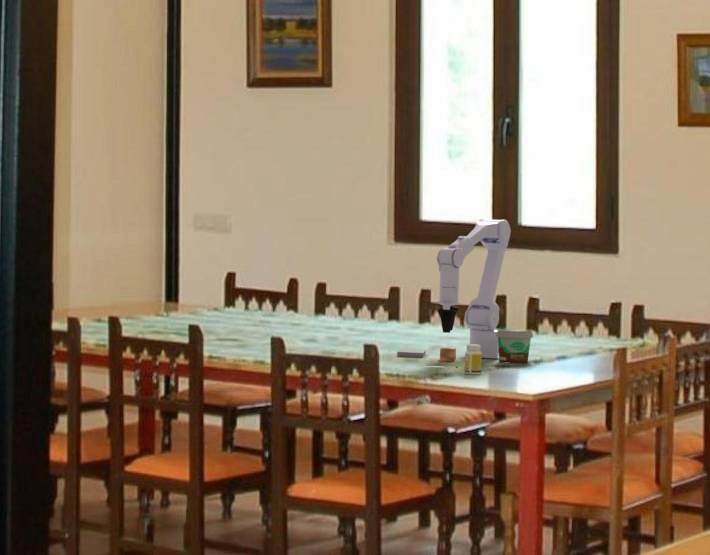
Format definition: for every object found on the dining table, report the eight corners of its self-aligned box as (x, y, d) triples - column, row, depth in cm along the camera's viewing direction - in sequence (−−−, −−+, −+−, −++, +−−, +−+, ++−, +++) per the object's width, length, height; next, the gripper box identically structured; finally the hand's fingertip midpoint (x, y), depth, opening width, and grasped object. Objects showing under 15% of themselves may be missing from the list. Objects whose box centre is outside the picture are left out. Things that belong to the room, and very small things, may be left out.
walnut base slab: (428, 359, 438) (428, 354, 438) (425, 363, 428) (425, 358, 428) (397, 357, 440) (397, 353, 440) (393, 361, 430) (393, 356, 430)
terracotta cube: (455, 361, 428) (456, 347, 428) (454, 363, 424) (454, 349, 423) (441, 361, 429) (441, 346, 429) (439, 362, 424) (440, 348, 424)
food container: (504, 364, 425) (506, 331, 424) (494, 361, 430) (496, 329, 430) (539, 363, 430) (540, 331, 429) (529, 360, 435) (530, 329, 435)
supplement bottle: (483, 373, 402) (484, 344, 402) (477, 375, 398) (478, 346, 397) (467, 372, 404) (468, 343, 404) (462, 373, 400) (463, 344, 400)
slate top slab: (425, 354, 437) (425, 349, 437) (422, 357, 430) (423, 353, 429) (400, 353, 439) (400, 348, 439) (397, 356, 431) (397, 351, 431)
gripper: (438, 285, 433) (437, 328, 434) (433, 288, 419) (432, 333, 420) (461, 285, 432) (459, 329, 433) (457, 289, 418) (455, 334, 418)
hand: (447, 331), depth 426 cm, fingers open, 7 cm apart
